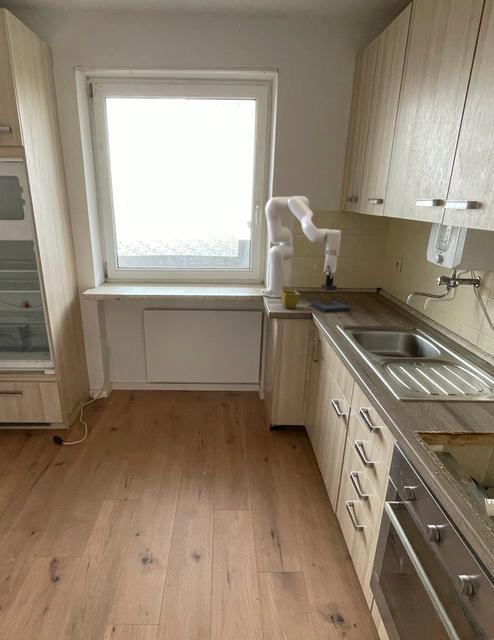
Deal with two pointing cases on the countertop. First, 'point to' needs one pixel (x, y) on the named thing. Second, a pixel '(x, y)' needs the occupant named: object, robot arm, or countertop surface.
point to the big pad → (331, 306)
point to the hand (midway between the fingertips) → (329, 284)
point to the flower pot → (289, 298)
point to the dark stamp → (329, 287)
